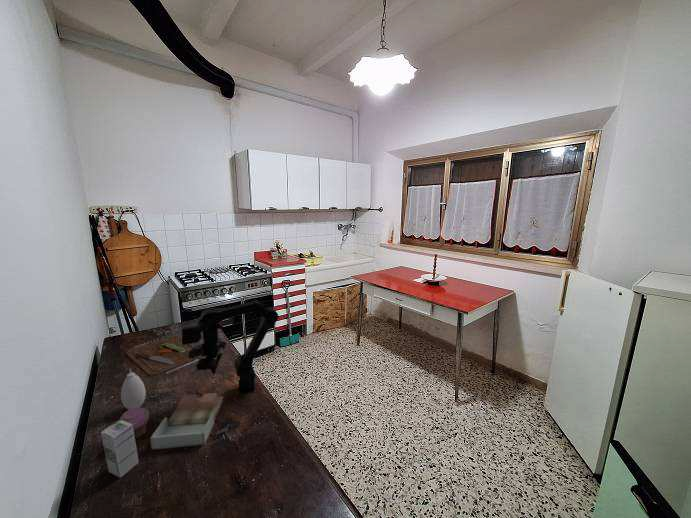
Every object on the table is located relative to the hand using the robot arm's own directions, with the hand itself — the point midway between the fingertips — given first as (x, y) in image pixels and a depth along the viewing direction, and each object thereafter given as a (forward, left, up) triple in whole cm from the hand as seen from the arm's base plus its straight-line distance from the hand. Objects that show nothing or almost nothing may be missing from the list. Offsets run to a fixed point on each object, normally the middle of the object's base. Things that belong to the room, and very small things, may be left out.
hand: (214, 373), depth 115 cm
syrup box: (+18, +31, -12) cm, 38 cm away
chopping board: (+42, -42, -12) cm, 60 cm away
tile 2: (0, +8, -9) cm, 12 cm away
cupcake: (+22, +18, -12) cm, 30 cm away
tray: (+4, +20, -12) cm, 24 cm away
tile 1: (+8, +8, -9) cm, 14 cm away
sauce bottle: (+31, +3, -12) cm, 33 cm away
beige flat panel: (+4, +9, -12) cm, 15 cm away
